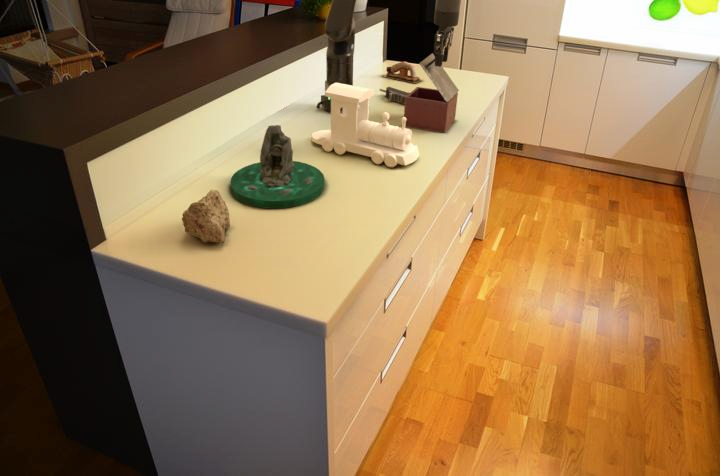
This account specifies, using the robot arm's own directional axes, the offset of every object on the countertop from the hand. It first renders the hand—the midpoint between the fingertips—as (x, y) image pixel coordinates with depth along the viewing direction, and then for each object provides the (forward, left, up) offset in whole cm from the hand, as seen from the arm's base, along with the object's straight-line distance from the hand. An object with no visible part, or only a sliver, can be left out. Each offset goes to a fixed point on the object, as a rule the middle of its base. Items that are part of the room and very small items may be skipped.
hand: (440, 63), depth 193 cm
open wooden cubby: (-2, +1, -20) cm, 21 cm away
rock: (-78, -55, -21) cm, 97 cm away
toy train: (-31, -17, -21) cm, 41 cm away
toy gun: (+2, +22, -21) cm, 31 cm away
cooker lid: (0, 0, -5) cm, 5 cm away
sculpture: (+8, +53, -21) cm, 58 cm away
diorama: (-60, -35, -21) cm, 72 cm away
